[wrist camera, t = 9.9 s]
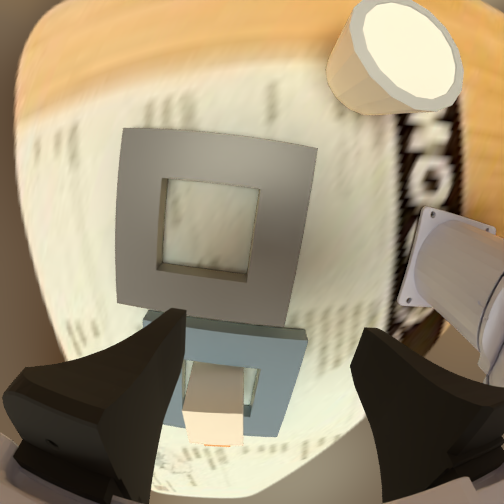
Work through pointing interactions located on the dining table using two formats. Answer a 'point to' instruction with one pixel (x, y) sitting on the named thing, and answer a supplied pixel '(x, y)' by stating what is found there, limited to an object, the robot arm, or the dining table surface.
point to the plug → (214, 405)
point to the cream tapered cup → (394, 60)
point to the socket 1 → (221, 172)
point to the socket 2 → (244, 355)
